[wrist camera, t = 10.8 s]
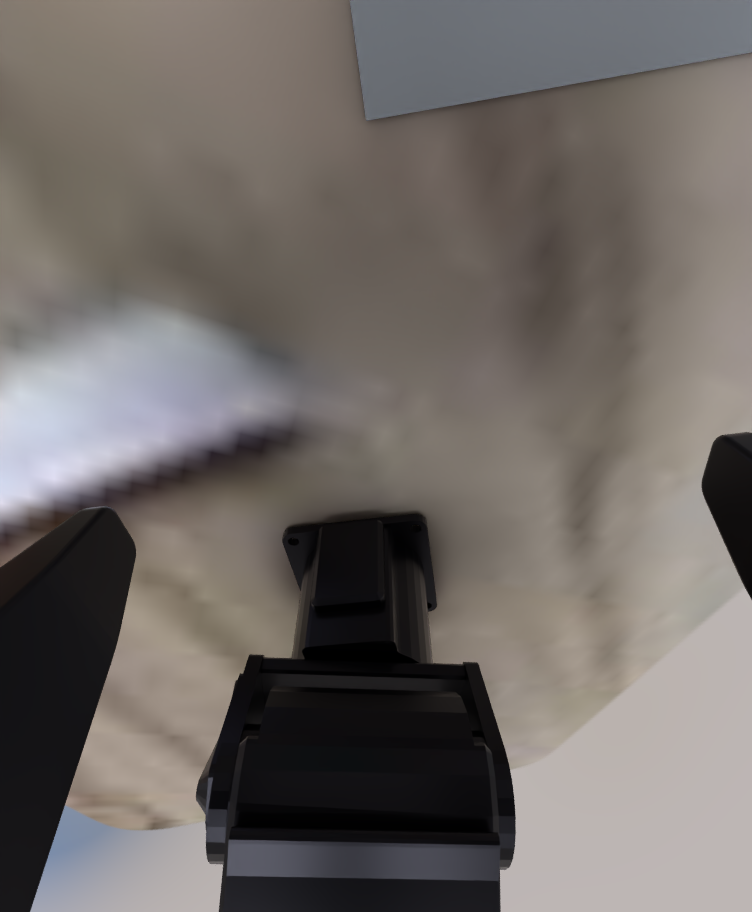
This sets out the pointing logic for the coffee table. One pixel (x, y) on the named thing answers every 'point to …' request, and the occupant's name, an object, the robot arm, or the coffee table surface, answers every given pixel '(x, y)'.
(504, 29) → the slate mat
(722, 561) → the coffee table surface
